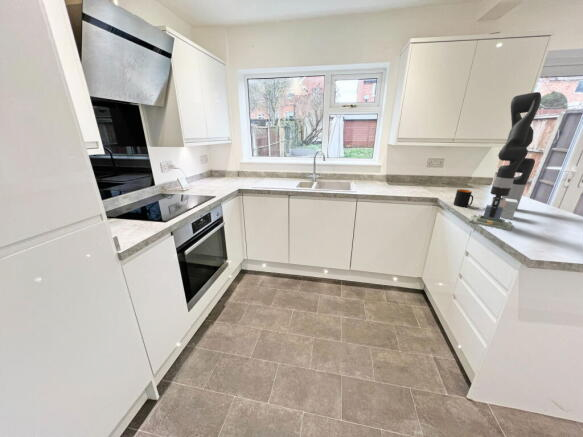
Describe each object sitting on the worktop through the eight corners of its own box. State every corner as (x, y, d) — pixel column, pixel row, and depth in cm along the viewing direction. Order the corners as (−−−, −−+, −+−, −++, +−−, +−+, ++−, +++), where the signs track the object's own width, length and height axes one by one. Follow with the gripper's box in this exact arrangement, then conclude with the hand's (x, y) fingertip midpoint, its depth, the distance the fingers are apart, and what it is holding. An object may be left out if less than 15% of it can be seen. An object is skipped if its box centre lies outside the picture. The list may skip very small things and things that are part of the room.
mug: (464, 208, 154) (469, 193, 151) (450, 203, 166) (454, 189, 162) (475, 208, 156) (480, 193, 152) (460, 203, 167) (464, 189, 163)
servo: (481, 214, 133) (484, 202, 131) (503, 218, 127) (507, 206, 125) (480, 215, 130) (484, 204, 128) (502, 220, 124) (506, 208, 122)
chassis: (471, 216, 140) (472, 212, 139) (511, 224, 128) (513, 220, 127) (468, 222, 132) (469, 217, 131) (510, 230, 120) (512, 226, 119)
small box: (499, 214, 145) (505, 197, 141) (511, 216, 142) (517, 199, 138) (499, 217, 139) (505, 200, 135) (512, 219, 136) (518, 202, 132)
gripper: (494, 182, 130) (484, 211, 136) (491, 186, 120) (481, 217, 126) (511, 185, 125) (501, 214, 131) (510, 189, 115) (499, 221, 121)
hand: (491, 216), depth 128 cm, fingers closed on servo, 4 cm apart
